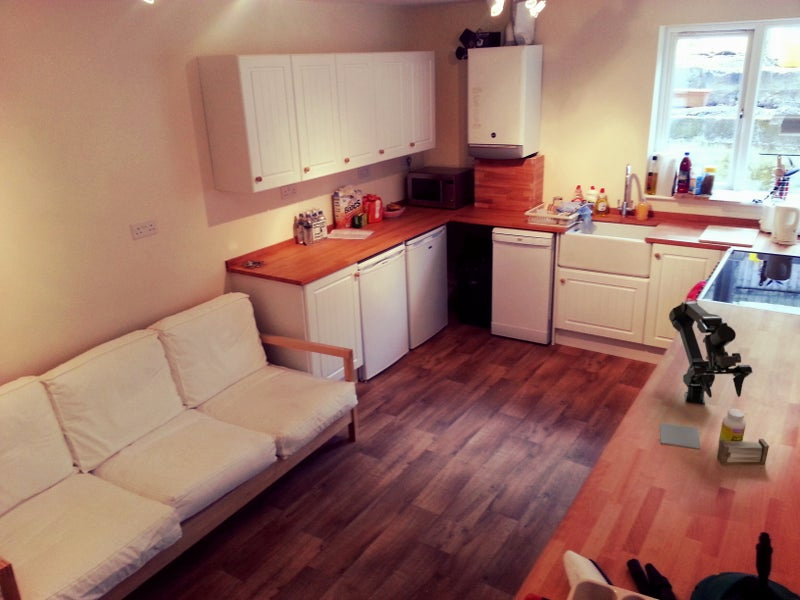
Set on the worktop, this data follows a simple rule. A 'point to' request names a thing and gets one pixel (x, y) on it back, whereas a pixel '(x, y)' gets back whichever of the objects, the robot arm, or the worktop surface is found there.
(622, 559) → the worktop surface
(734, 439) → the supplement bottle
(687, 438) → the slate mat
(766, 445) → the offcut rack
